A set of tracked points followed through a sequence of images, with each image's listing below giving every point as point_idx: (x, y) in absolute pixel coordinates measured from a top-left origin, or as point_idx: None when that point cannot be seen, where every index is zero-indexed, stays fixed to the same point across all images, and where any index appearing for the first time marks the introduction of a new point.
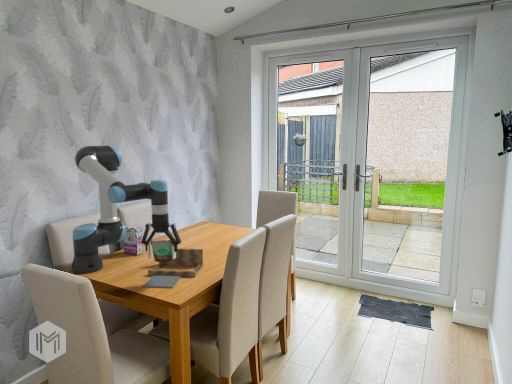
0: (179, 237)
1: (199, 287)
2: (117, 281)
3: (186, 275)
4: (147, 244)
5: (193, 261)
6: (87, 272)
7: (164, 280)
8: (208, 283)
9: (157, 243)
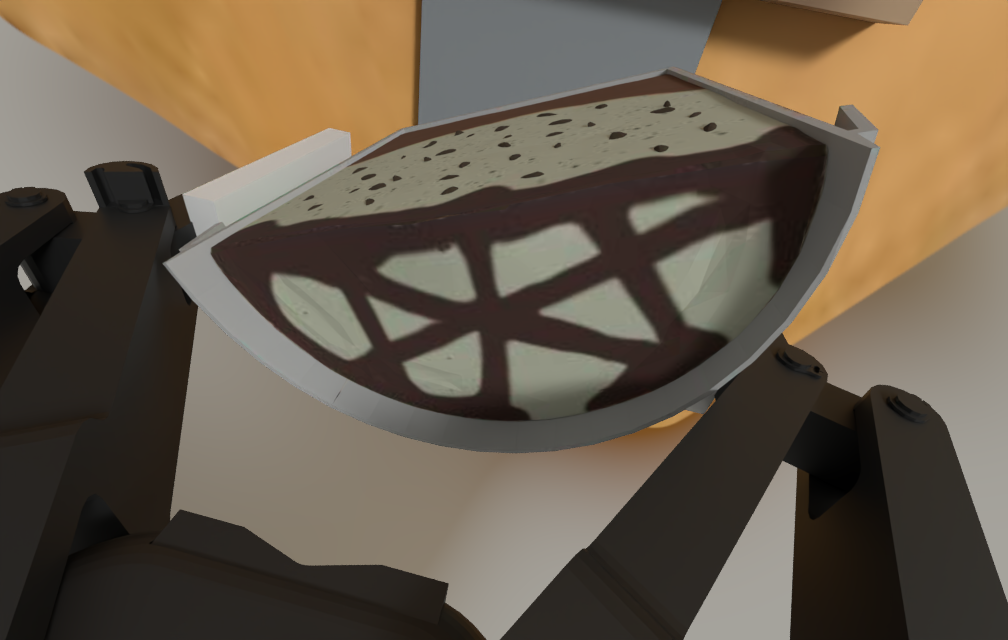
0: (966, 523)
1: (826, 281)
2: (188, 77)
3: (784, 4)
4: None
5: None
6: None
7: None
8: (939, 217)
9: (396, 417)
